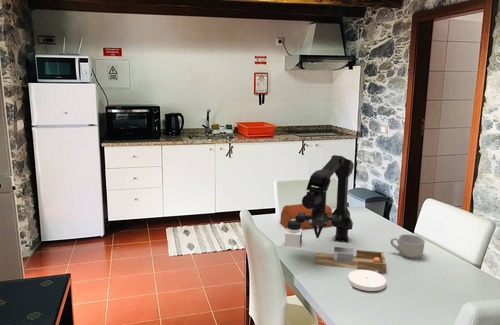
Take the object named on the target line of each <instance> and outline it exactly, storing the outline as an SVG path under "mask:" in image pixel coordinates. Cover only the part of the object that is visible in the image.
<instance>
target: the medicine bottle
mask: <svg viewBox="0 0 500 325" xmlns="http://www.w3.org/2000/svg"><path fill="white" fill-rule="evenodd" d="M300 228H301V223H298V222H296V220H289V221H288V222H287V229H286V230H285V234H284V246H285V247H293V248H294V247H295V248H301V247H302V239H303V229H300Z"/></svg>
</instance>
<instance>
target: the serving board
mask: <svg viewBox="0 0 500 325" xmlns="http://www.w3.org/2000/svg"><path fill="white" fill-rule="evenodd" d="M355 252H356V253H355V255H353V264H342V263H333V262H334V253H324V252H316V253H315V262H314V265H315V266H326V267H335V268H346V269H355V270H369V271H374V272H377V273H379V274H381V275H383V274H385V275H386V274H387V273H386V272H387V262H386V258H385V254H384V252H383V251H373V250H371V251H369V250H361V249H356V250H355ZM375 257H378V258H380V260H381V262H380V263H376V262H373V259H374V258H375Z"/></svg>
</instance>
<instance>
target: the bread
mask: <svg viewBox="0 0 500 325" xmlns="http://www.w3.org/2000/svg"><path fill="white" fill-rule="evenodd" d="M332 210H333V209H332V208H331V207H330V206H329V205H327V204H326V214H329V217H332V213H333V211H332ZM298 212H302V213H306V215H308V216H311V212H312V209H307V208H305V207H304V206H303V204H302V203H299V204H288V205H287V204H286V205H284V206H283V207H282V210H281V213H280V224H281V225H282V226H283V227H284V228H285V229H286V230H287V222H288V221H289V220H296V214H297V213H298ZM309 222H310V221H309V220H305V221H304V222H303V223H301V228H300V229H302V230H305V229H313V227H312V225H309ZM326 227H333V226H332V223H331V222H327V226H324V227H323V228H326ZM317 228H319V225H317Z"/></svg>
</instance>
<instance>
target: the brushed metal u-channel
mask: <svg viewBox="0 0 500 325" xmlns="http://www.w3.org/2000/svg"><path fill="white" fill-rule="evenodd" d="M333 254H334V262H333V263H342V264H353V256H354V254H355V250H354V248H353V247H344V246H343V247H339V246H333Z"/></svg>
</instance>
